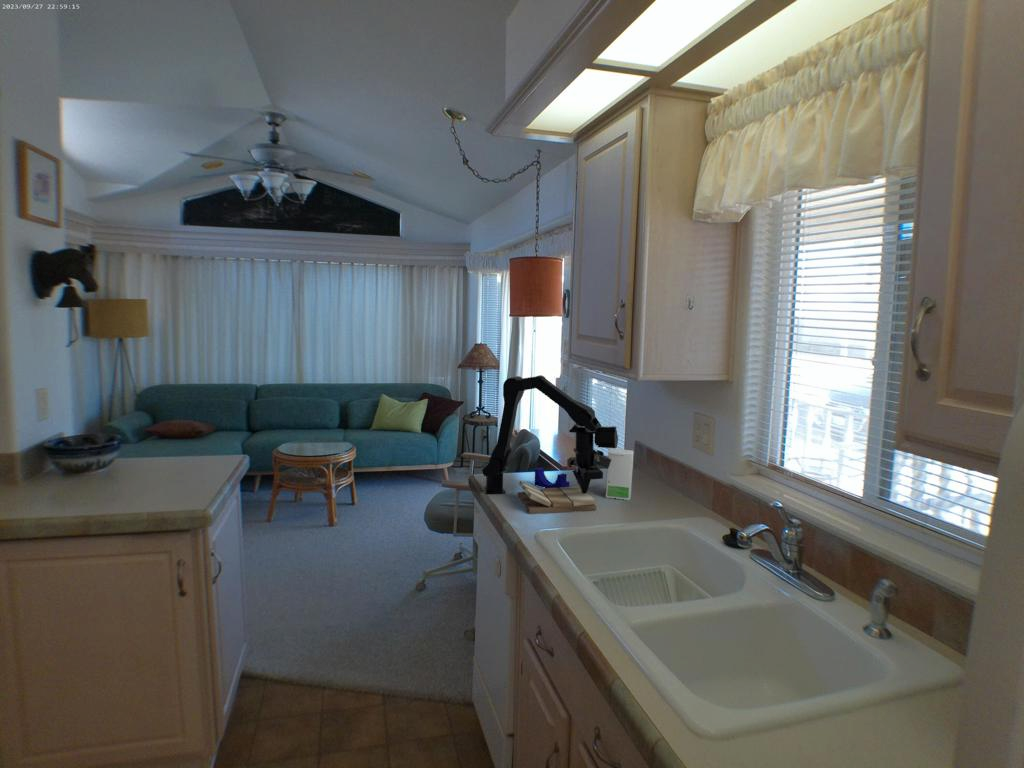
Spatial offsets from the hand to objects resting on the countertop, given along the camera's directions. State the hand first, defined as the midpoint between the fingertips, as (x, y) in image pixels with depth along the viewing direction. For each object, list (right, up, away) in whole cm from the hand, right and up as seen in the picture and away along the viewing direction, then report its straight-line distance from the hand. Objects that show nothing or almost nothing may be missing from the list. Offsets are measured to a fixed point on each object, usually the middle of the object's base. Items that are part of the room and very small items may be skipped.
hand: (584, 493), depth 194 cm
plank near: (-16, 0, -3) cm, 17 cm away
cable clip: (-10, -1, +16) cm, 19 cm away
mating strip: (-9, -1, -2) cm, 10 cm away
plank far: (-3, -1, 0) cm, 3 cm away
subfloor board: (-9, -3, -2) cm, 10 cm away
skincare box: (+12, -2, +7) cm, 14 cm away
